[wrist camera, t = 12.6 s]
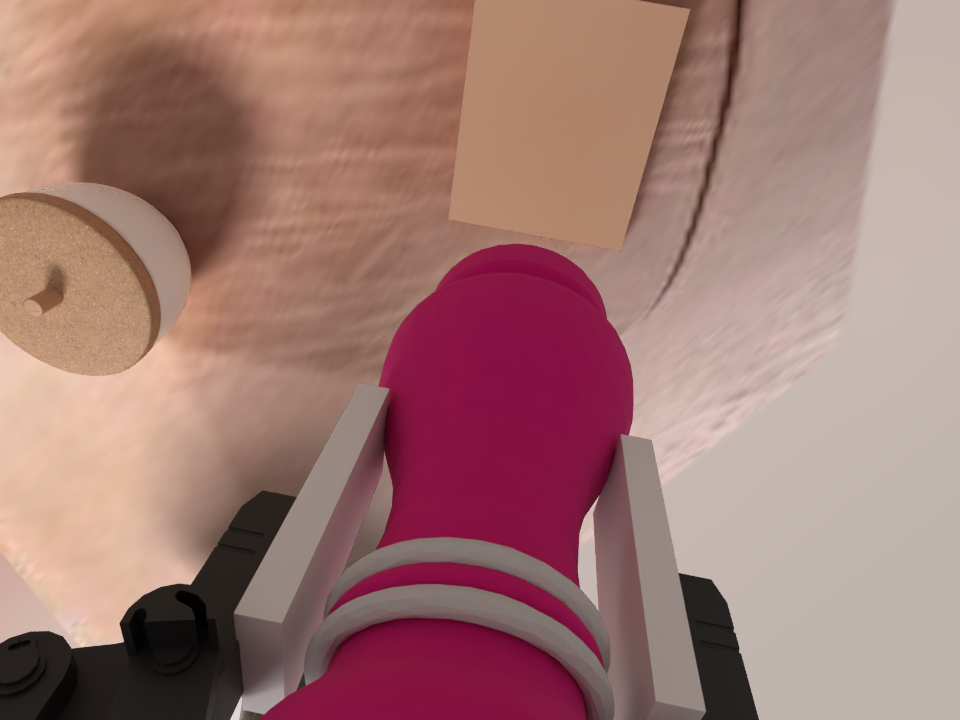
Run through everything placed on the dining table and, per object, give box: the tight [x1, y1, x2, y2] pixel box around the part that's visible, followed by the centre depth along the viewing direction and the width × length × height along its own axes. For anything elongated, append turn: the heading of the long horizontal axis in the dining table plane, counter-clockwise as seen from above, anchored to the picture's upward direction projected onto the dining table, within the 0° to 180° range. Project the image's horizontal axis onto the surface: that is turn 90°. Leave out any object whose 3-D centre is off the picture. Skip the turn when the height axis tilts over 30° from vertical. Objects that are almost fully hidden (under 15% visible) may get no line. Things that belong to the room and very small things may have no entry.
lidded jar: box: [0, 182, 191, 376], centre depth 35 cm, size 11×11×9 cm
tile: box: [448, 0, 690, 252], centre depth 32 cm, size 2×10×12 cm
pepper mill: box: [259, 244, 633, 720], centre depth 12 cm, size 7×7×20 cm
